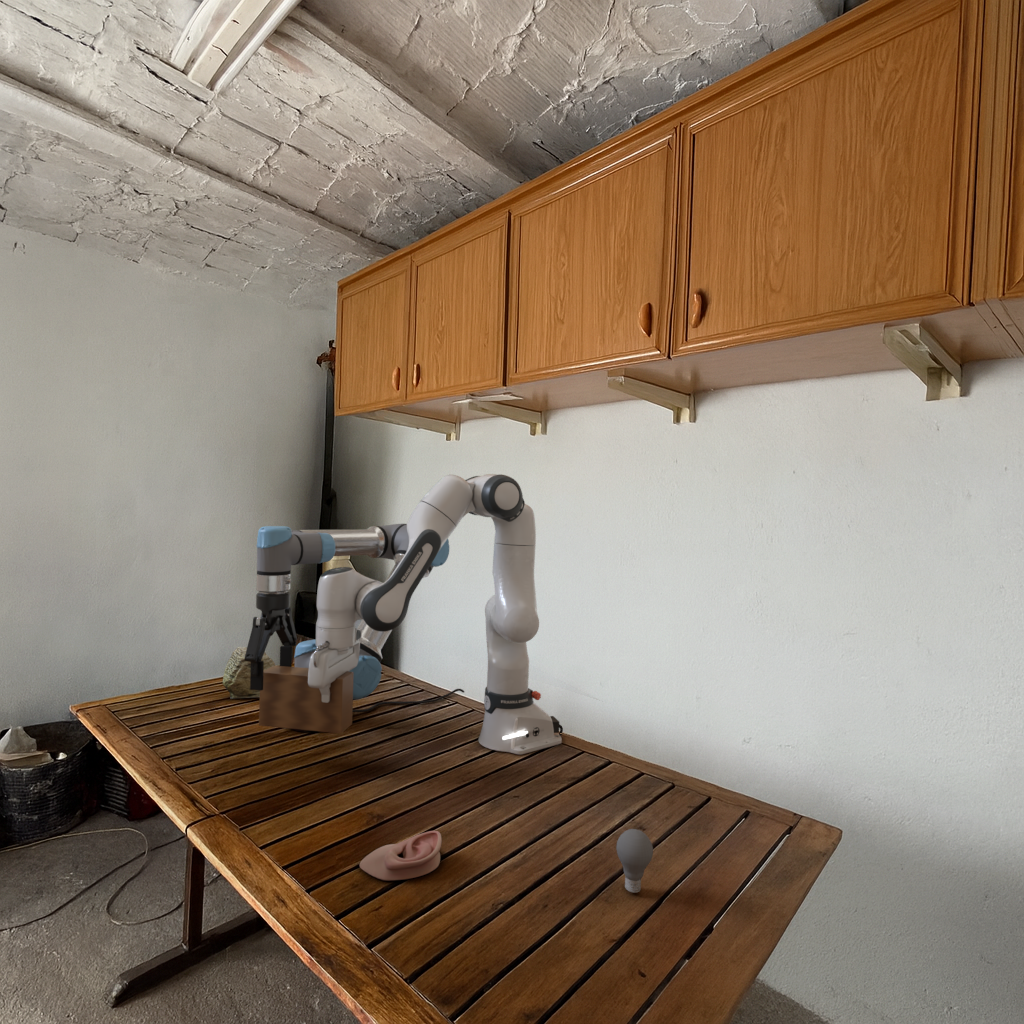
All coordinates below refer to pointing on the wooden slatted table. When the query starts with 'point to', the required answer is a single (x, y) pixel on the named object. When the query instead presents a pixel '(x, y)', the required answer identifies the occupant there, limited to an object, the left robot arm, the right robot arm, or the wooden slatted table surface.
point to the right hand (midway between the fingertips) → (333, 696)
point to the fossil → (241, 674)
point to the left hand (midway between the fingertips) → (271, 680)
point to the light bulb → (634, 857)
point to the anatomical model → (405, 858)
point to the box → (304, 701)
